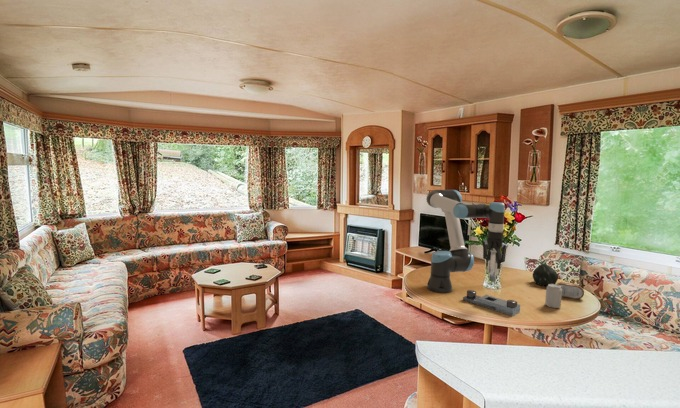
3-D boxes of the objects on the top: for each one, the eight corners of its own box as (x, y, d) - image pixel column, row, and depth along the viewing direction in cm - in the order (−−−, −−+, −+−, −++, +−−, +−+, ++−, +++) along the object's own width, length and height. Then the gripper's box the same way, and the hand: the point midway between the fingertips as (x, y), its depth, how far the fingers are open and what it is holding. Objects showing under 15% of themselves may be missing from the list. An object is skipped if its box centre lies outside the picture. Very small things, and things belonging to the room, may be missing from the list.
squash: (560, 275, 247) (544, 257, 249) (564, 282, 233) (548, 263, 235) (541, 286, 252) (526, 269, 254) (544, 294, 238) (528, 275, 240)
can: (552, 309, 201) (554, 288, 200) (541, 304, 208) (543, 283, 207) (563, 308, 203) (565, 287, 202) (552, 303, 210) (554, 282, 209)
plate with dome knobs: (463, 300, 211) (463, 290, 210) (471, 297, 217) (471, 287, 216) (512, 316, 190) (513, 305, 189) (519, 312, 196) (520, 301, 195)
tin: (583, 299, 218) (584, 285, 217) (583, 300, 215) (585, 286, 214) (554, 294, 225) (555, 280, 225) (553, 295, 223) (555, 282, 222)
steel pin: (486, 280, 202) (488, 249, 200) (490, 278, 205) (492, 248, 203) (494, 282, 198) (496, 251, 197) (498, 280, 201) (500, 250, 200)
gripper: (477, 229, 203) (475, 271, 205) (507, 234, 190) (504, 278, 193) (484, 228, 208) (481, 268, 210) (514, 232, 195) (511, 275, 197)
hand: (492, 273), depth 201 cm, fingers closed on steel pin, 3 cm apart
